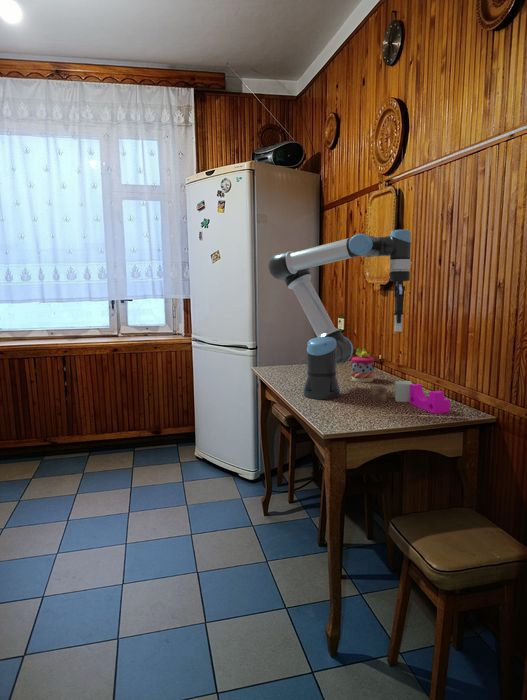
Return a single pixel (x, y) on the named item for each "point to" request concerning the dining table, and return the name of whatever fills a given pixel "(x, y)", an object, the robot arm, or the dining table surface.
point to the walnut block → (378, 393)
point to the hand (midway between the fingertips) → (398, 331)
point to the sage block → (402, 391)
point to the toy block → (429, 400)
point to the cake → (362, 367)
